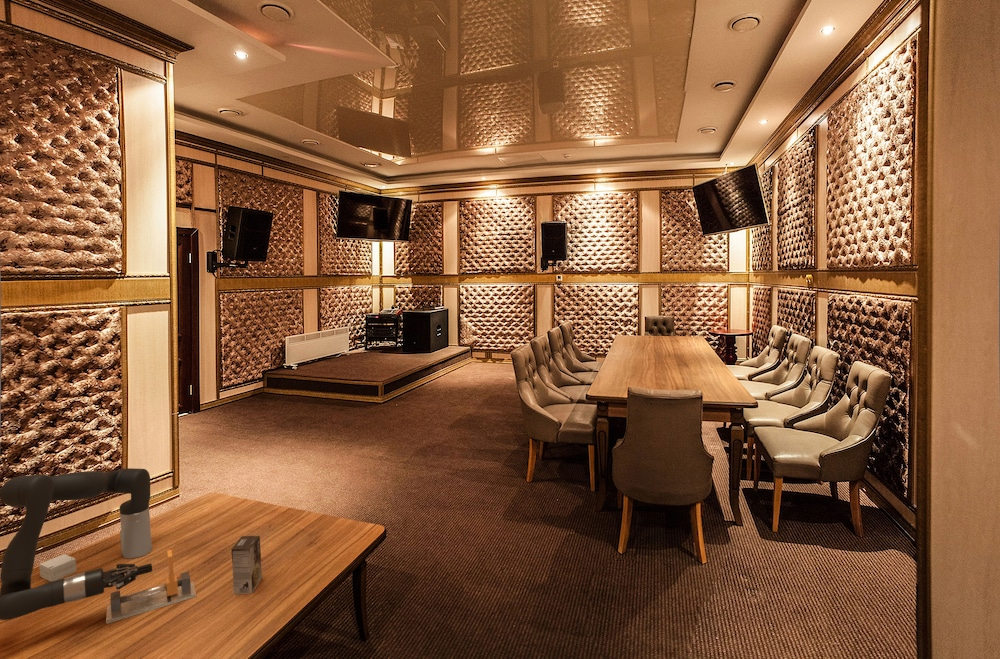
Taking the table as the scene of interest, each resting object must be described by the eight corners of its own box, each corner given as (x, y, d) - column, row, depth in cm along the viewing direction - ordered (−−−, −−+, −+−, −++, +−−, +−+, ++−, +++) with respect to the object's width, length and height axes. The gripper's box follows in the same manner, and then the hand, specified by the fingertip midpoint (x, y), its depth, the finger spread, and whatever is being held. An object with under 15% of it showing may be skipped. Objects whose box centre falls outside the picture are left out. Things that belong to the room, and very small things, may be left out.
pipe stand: (106, 624, 161) (104, 605, 160) (107, 609, 168) (105, 591, 168) (196, 596, 175) (195, 579, 174) (193, 583, 182) (192, 567, 181)
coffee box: (243, 579, 185) (241, 535, 183) (262, 578, 185) (260, 534, 184) (232, 595, 176) (230, 549, 174) (252, 594, 176) (250, 548, 175)
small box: (65, 566, 194) (64, 553, 193) (77, 571, 190) (76, 558, 190) (39, 577, 187) (38, 563, 186) (51, 582, 183) (50, 568, 183)
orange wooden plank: (167, 596, 172) (164, 558, 170) (166, 589, 176) (163, 551, 174) (178, 593, 173) (175, 555, 172) (177, 586, 177) (174, 548, 176)
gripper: (81, 583, 155) (152, 565, 165) (84, 564, 166) (150, 547, 176) (83, 607, 156) (153, 587, 166) (86, 586, 166) (151, 569, 176)
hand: (151, 567), depth 171 cm, fingers closed
